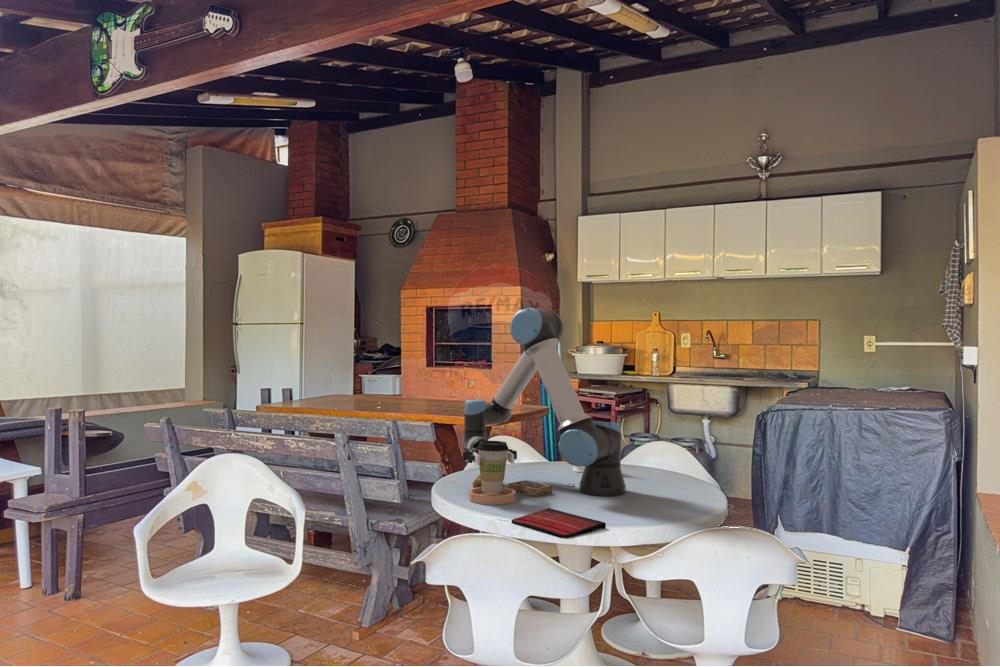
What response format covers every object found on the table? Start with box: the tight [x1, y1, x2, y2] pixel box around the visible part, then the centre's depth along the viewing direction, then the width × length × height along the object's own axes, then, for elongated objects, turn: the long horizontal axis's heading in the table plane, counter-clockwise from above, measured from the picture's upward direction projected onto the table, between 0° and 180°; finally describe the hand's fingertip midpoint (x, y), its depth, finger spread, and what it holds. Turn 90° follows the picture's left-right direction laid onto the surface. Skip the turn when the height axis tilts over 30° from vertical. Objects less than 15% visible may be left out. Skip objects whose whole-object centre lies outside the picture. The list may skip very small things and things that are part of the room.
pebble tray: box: [508, 479, 553, 497], centre depth 226 cm, size 12×8×3 cm, turn 44°
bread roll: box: [472, 474, 505, 488], centre depth 228 cm, size 10×10×8 cm
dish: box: [467, 486, 517, 506], centre depth 215 cm, size 14×14×2 cm
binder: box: [511, 507, 607, 539], centre depth 185 cm, size 16×2×21 cm
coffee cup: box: [477, 440, 509, 493], centre depth 215 cm, size 10×10×15 cm
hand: (495, 459), depth 211 cm, fingers open, 10 cm apart
